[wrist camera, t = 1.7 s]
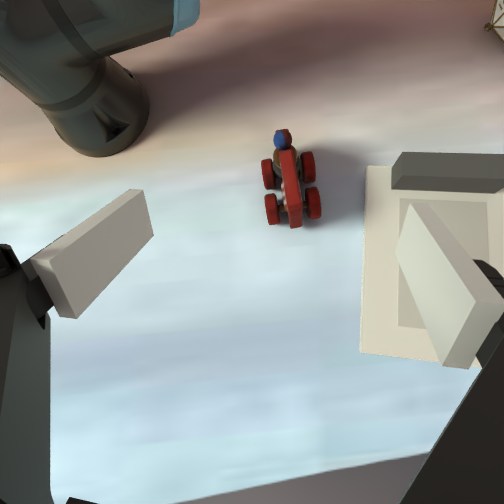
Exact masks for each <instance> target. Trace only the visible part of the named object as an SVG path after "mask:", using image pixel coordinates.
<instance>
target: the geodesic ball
mask: <svg viewBox="0 0 504 504" xmlns="http://www.w3.org/2000/svg"><path fill="white" fill-rule="evenodd" d="M484 28H486V29H485V31H489V30H491V29H493V31H494V32H495V33H496V34H497V35H498V36H499V38H500V39H501V40H502V41H503V42H504V0H496V1H495V5H494V9H493V13H492V17H491V21H490V23H488V24H486V25H485V26H484Z"/></svg>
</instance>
